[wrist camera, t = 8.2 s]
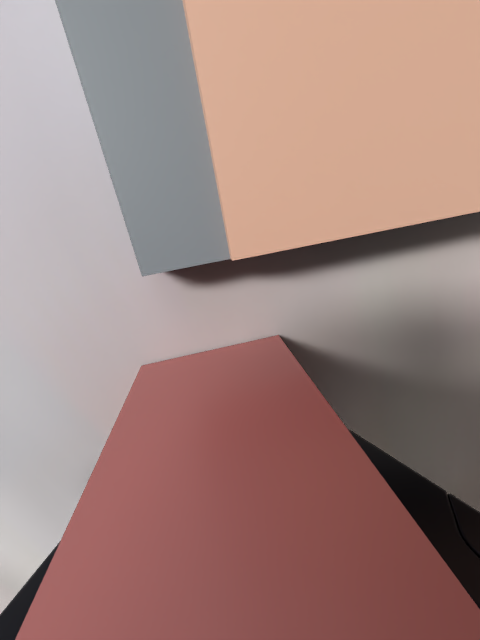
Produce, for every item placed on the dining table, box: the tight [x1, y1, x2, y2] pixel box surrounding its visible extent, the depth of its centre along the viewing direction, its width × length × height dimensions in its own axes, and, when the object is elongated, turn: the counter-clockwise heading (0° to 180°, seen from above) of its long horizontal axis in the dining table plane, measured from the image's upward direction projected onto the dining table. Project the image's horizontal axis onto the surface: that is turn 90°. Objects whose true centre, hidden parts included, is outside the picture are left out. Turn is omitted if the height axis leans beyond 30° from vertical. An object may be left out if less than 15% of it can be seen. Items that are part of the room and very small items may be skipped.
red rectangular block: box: [15, 335, 480, 640], centre depth 5 cm, size 4×4×7 cm
